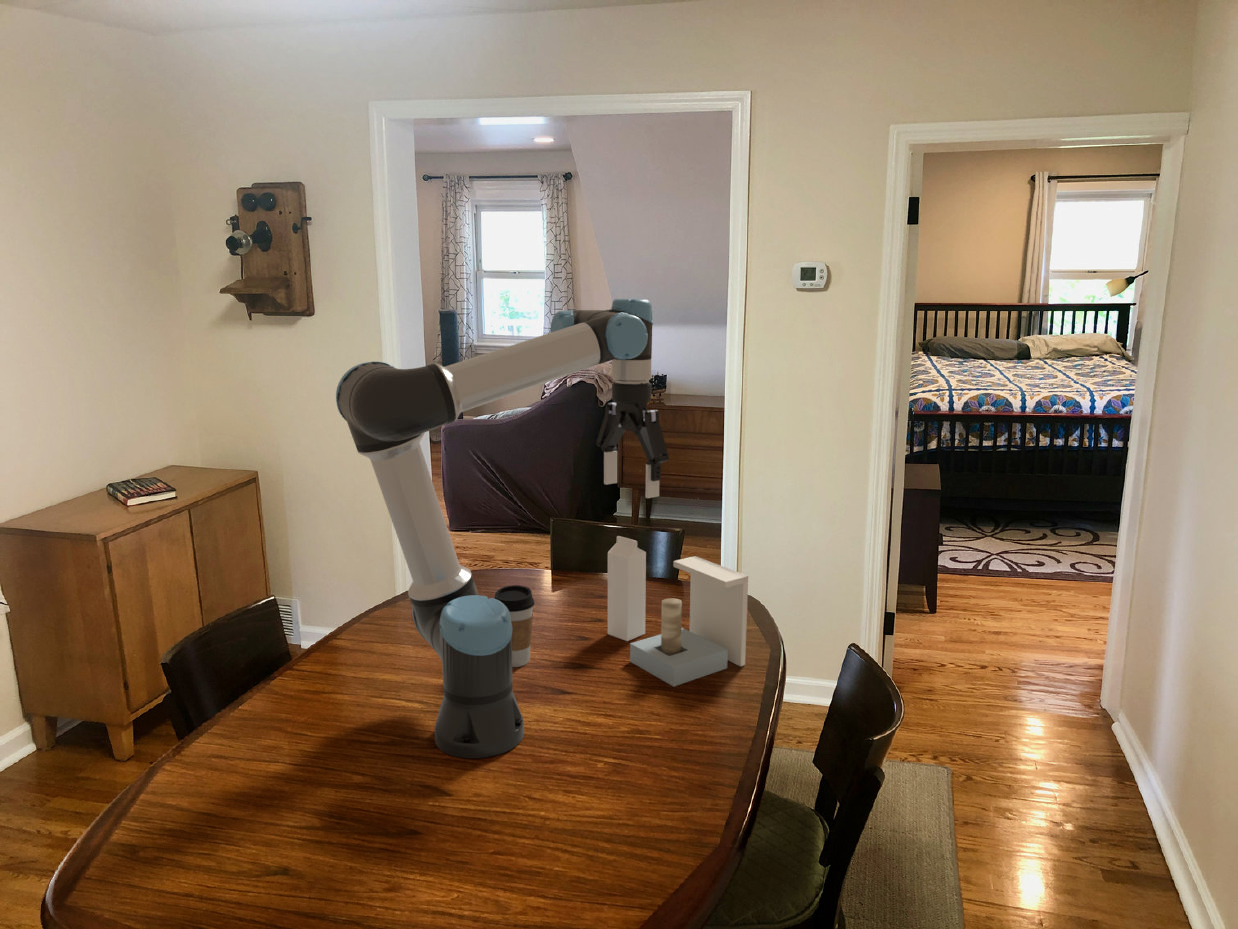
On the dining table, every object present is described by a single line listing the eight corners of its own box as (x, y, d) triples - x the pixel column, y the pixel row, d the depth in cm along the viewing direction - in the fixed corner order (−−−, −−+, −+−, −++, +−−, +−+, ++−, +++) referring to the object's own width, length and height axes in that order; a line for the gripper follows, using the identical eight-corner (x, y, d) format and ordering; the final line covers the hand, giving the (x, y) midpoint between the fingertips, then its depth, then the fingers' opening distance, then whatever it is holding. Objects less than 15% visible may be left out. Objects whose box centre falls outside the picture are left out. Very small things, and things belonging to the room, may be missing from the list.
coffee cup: (539, 653, 186) (537, 585, 183) (531, 671, 178) (529, 600, 175) (499, 651, 187) (497, 584, 184) (489, 669, 179) (487, 598, 176)
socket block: (673, 686, 171) (673, 667, 171) (630, 661, 183) (630, 643, 182) (727, 668, 180) (727, 649, 179) (682, 645, 191) (682, 627, 190)
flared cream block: (723, 672, 178) (725, 582, 174) (672, 646, 190) (673, 561, 186) (745, 665, 181) (748, 576, 177) (693, 639, 194) (695, 555, 190)
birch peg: (669, 673, 177) (670, 607, 174) (656, 666, 180) (657, 601, 177) (684, 668, 179) (685, 602, 177) (672, 661, 183) (673, 596, 180)
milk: (627, 642, 193) (627, 544, 188) (607, 634, 197) (606, 538, 192) (645, 633, 197) (646, 538, 192) (625, 626, 201) (625, 532, 196)
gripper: (689, 386, 161) (686, 500, 166) (609, 374, 181) (609, 476, 185) (656, 389, 157) (655, 506, 161) (579, 376, 177) (579, 480, 181)
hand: (630, 490), depth 173 cm, fingers open, 13 cm apart
